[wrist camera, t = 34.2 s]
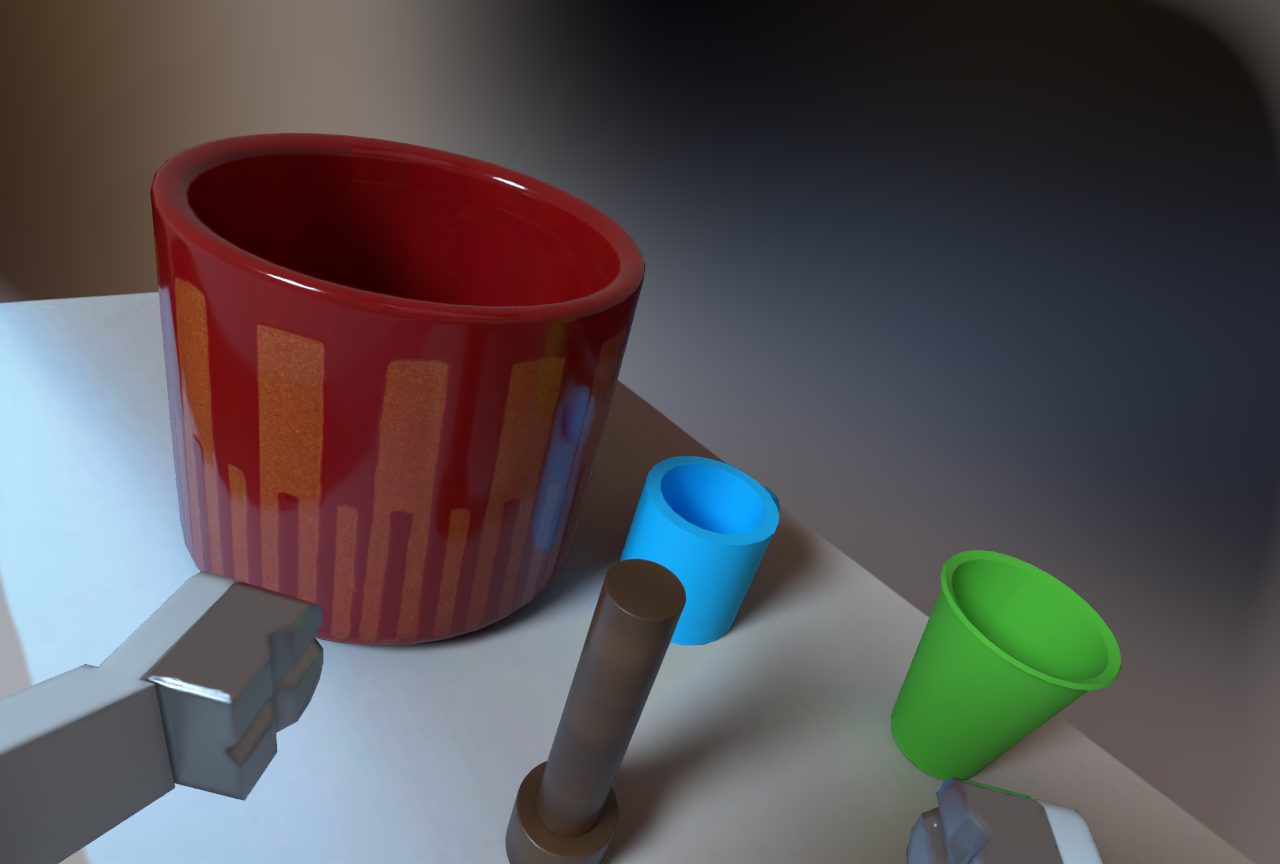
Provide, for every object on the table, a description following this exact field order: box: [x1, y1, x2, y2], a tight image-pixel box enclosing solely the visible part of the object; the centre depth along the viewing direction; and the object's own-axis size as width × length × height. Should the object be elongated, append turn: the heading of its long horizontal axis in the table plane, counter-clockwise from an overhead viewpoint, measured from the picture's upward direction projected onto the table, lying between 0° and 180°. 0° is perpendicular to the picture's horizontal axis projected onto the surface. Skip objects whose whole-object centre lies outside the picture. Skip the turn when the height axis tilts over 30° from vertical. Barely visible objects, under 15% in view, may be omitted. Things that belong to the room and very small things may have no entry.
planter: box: [150, 133, 645, 646], centre depth 42 cm, size 23×23×20 cm
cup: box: [891, 550, 1121, 780], centre depth 40 cm, size 9×9×11 cm
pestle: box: [506, 559, 686, 864], centre depth 29 cm, size 4×4×16 cm
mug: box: [619, 456, 780, 645], centre depth 47 cm, size 12×8×8 cm
